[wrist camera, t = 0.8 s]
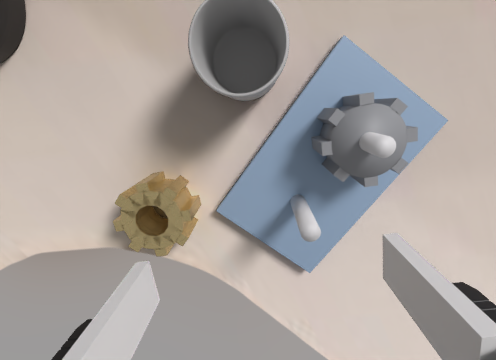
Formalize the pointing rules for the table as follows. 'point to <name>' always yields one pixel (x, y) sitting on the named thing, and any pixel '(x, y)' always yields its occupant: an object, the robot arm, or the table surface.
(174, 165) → the table surface
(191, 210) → the brass gear
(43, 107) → the table surface
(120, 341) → the robot arm
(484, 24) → the table surface
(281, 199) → the gear board
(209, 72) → the mug
